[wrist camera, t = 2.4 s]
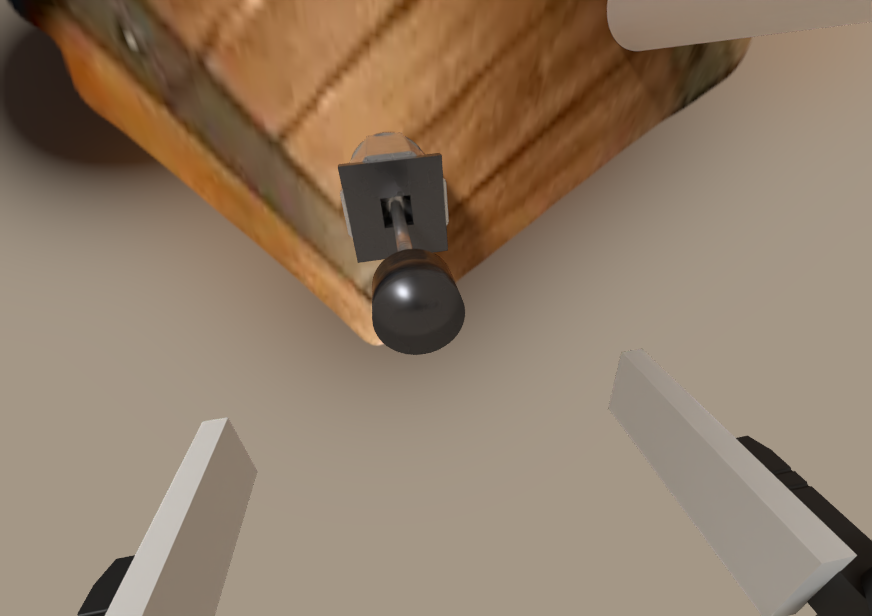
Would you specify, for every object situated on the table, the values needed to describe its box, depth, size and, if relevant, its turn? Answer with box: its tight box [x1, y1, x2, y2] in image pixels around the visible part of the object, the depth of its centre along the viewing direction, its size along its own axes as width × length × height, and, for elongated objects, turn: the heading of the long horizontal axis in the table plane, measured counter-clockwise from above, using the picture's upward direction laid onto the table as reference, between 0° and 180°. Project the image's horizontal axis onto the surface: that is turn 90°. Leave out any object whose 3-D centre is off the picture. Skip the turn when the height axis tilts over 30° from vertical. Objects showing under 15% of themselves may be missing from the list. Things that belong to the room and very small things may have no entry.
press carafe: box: [338, 132, 449, 263], centre depth 39 cm, size 12×10×15 cm
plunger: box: [372, 195, 465, 355], centre depth 26 cm, size 7×7×20 cm
